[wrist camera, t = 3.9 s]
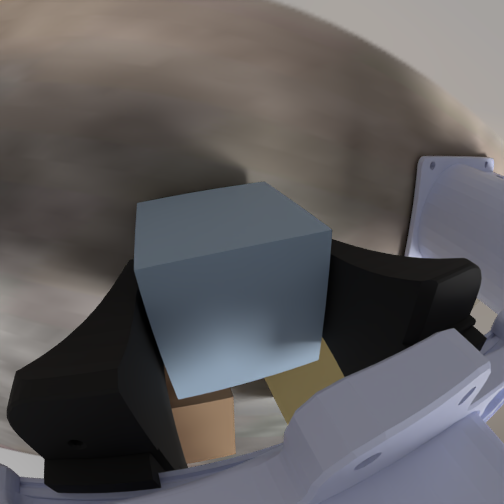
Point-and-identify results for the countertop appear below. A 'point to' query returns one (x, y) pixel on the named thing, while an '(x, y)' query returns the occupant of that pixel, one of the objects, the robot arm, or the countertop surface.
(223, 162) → the countertop surface
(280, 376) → the mustard cube
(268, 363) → the blue cube
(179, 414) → the walnut block
